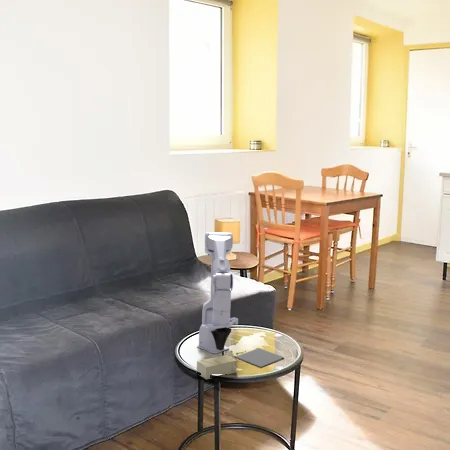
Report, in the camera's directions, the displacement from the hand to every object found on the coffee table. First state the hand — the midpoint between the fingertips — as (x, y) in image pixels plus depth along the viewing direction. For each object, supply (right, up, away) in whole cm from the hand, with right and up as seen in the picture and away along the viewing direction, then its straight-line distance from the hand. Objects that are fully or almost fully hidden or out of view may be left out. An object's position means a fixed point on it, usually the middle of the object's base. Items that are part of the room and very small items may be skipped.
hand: (219, 349), depth 188 cm
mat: (+14, -7, +18) cm, 24 cm away
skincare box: (+4, -6, +7) cm, 10 cm away
